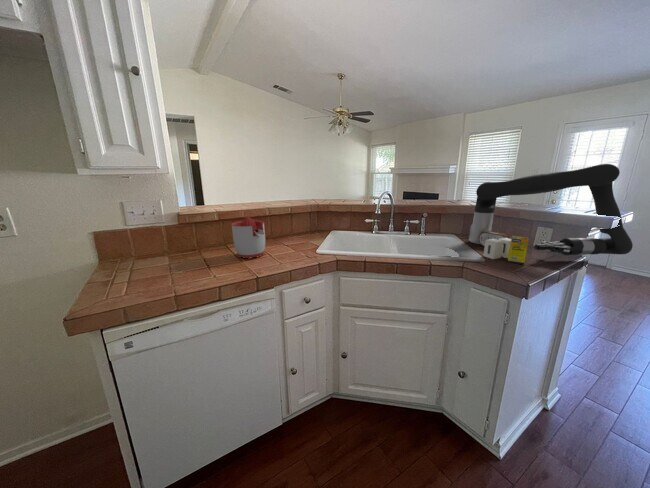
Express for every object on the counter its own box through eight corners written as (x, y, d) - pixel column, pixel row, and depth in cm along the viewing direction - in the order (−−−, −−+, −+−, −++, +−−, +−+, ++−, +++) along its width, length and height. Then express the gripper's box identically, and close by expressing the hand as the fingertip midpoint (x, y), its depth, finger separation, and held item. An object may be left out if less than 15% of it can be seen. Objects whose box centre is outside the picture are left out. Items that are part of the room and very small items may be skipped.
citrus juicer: (250, 263, 116) (245, 220, 111) (228, 257, 127) (223, 217, 121) (276, 255, 128) (273, 215, 123) (254, 249, 139) (250, 212, 133)
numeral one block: (482, 256, 122) (485, 239, 119) (490, 254, 123) (493, 238, 121) (492, 259, 117) (495, 242, 115) (500, 257, 119) (503, 241, 117)
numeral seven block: (495, 254, 123) (498, 238, 121) (503, 253, 125) (506, 237, 122) (505, 258, 118) (508, 241, 116) (513, 256, 120) (516, 240, 118)
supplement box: (524, 264, 109) (529, 240, 107) (507, 262, 113) (511, 238, 110) (523, 260, 114) (528, 237, 111) (507, 258, 117) (511, 235, 115)
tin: (510, 251, 129) (513, 234, 126) (507, 252, 127) (510, 235, 125) (479, 244, 141) (481, 229, 139) (476, 245, 139) (478, 230, 137)
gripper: (564, 234, 117) (526, 235, 117) (593, 242, 104) (550, 242, 104) (560, 250, 119) (523, 250, 119) (588, 259, 106) (546, 260, 106)
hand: (536, 247), depth 112 cm, fingers closed
